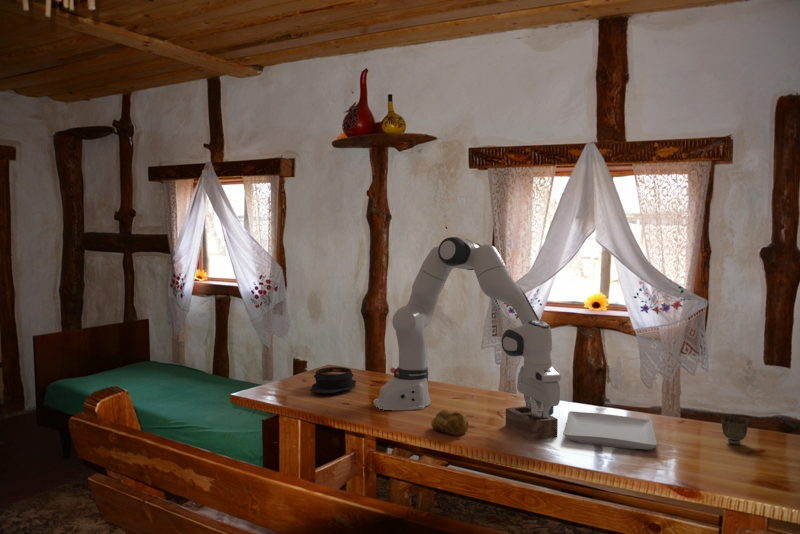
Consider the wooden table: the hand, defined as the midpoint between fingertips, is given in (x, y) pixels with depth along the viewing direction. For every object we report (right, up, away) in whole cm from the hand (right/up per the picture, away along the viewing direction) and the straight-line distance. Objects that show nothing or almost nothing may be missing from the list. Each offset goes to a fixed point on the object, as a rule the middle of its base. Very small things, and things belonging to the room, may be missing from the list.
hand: (536, 412), depth 187 cm
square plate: (+24, -8, 0) cm, 25 cm away
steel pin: (0, -5, 0) cm, 5 cm away
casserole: (-73, -5, +58) cm, 93 cm away
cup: (+60, -8, -8) cm, 61 cm away
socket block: (-1, -7, +4) cm, 8 cm away
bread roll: (-28, -8, +4) cm, 29 cm away
